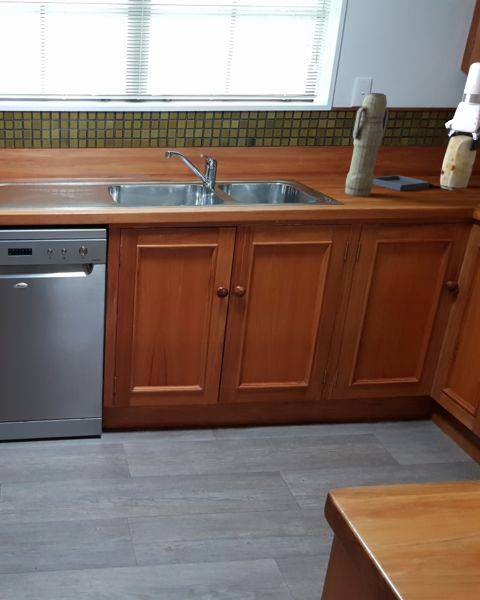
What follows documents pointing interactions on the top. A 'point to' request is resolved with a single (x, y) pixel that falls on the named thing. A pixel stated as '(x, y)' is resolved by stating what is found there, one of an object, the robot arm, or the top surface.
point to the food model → (457, 163)
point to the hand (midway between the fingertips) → (461, 148)
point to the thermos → (366, 144)
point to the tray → (400, 182)
